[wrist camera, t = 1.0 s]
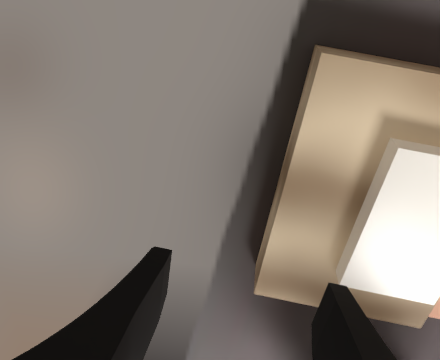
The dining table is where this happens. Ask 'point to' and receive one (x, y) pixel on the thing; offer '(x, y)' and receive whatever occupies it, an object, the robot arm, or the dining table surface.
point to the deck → (342, 172)
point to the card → (398, 227)
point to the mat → (435, 311)
